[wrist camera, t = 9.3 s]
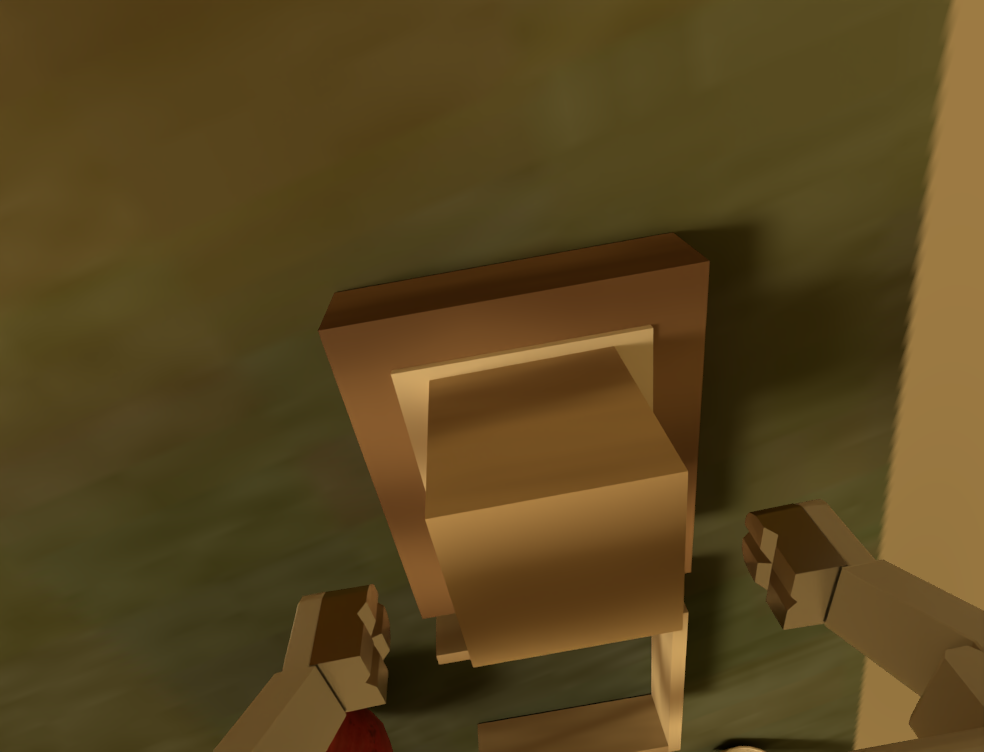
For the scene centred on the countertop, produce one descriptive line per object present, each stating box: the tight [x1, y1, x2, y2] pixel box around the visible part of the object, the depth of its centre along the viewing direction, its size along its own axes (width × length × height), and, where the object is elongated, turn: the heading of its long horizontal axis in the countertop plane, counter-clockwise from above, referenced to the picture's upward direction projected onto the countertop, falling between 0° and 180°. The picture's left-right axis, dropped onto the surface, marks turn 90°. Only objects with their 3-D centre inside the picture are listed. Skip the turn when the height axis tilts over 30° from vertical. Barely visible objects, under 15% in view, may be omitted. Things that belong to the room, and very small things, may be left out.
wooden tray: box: [318, 232, 710, 752], centre depth 21 cm, size 26×10×3 cm, turn 9°
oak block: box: [425, 346, 688, 668], centre depth 14 cm, size 5×5×5 cm
